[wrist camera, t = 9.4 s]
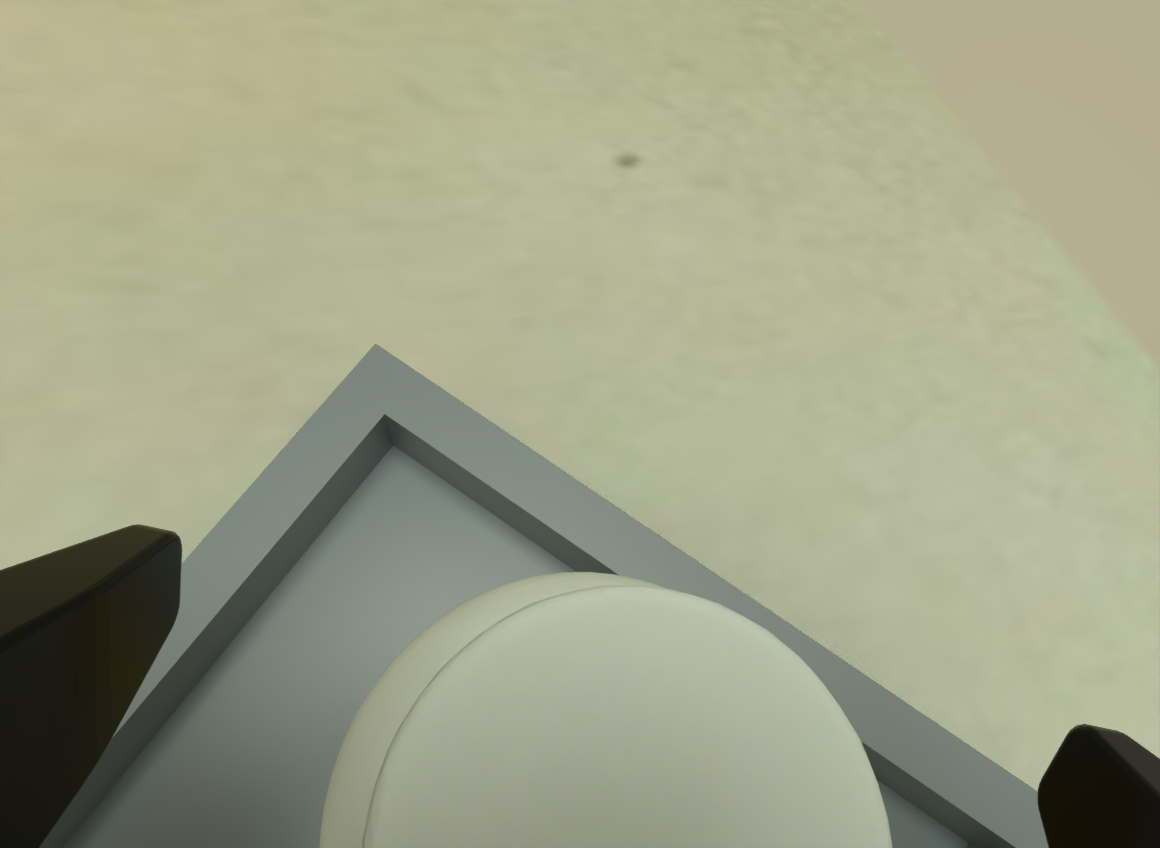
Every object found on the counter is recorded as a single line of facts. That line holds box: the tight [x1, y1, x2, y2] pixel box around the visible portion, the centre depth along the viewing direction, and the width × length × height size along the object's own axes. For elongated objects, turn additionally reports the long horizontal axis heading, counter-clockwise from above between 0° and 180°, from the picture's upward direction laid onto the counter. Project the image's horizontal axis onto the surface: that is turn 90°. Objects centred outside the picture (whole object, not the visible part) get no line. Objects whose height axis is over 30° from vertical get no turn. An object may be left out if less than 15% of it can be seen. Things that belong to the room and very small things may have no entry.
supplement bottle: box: [319, 572, 892, 848], centre depth 11 cm, size 5×5×10 cm
